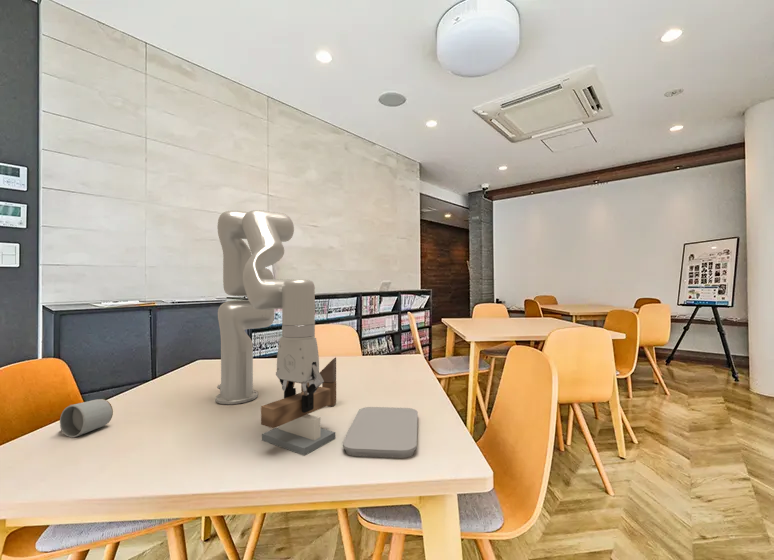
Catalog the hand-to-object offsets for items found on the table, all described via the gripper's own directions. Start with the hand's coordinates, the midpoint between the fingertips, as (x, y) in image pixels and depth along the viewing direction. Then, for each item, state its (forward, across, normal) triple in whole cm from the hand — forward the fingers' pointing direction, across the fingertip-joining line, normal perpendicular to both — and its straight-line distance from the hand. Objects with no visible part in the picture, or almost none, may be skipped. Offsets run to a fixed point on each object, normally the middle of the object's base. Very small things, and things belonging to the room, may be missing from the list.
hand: (298, 407), depth 85 cm
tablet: (+8, +15, +14) cm, 22 cm away
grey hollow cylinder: (+8, -50, -26) cm, 57 cm away
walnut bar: (+1, 0, 0) cm, 1 cm away
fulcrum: (+7, 0, 0) cm, 7 cm away
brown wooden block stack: (+8, -14, +21) cm, 26 cm away
